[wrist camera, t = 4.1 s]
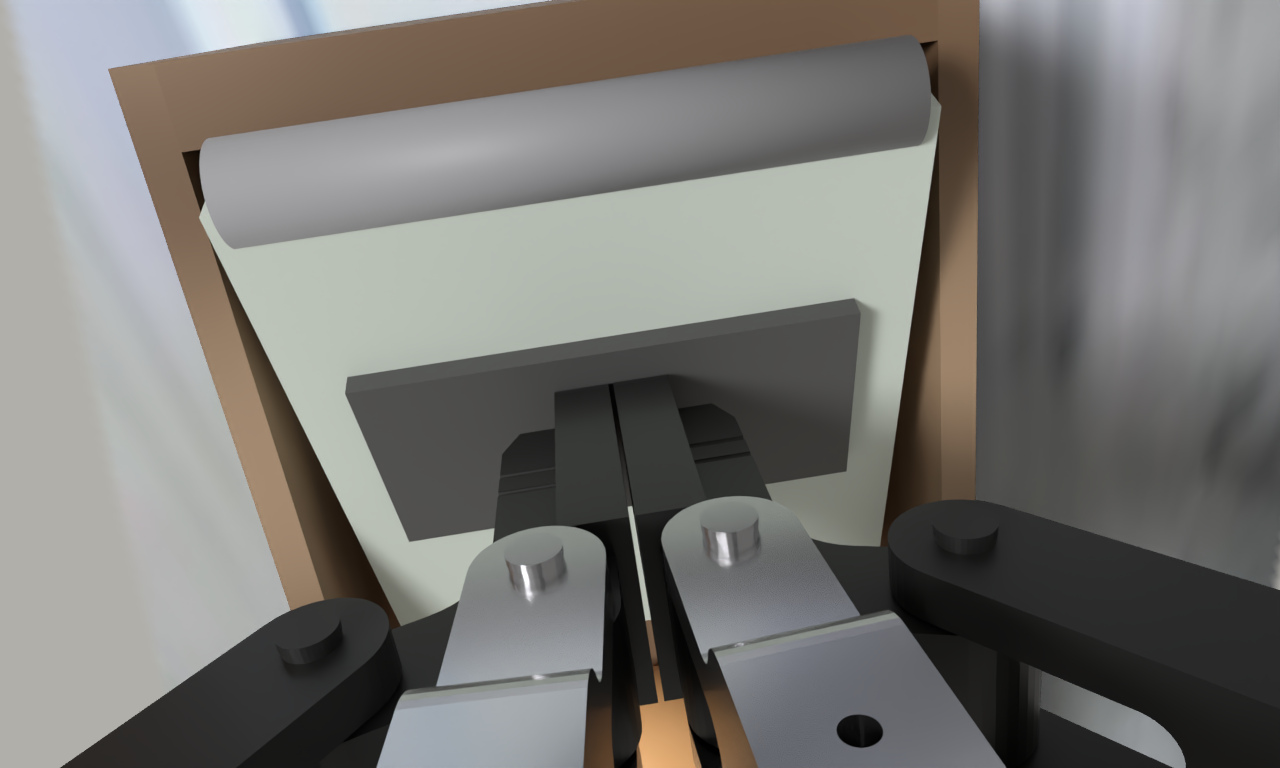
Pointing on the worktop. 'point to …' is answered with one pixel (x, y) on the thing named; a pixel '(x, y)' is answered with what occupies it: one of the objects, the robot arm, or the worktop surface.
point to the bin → (510, 63)
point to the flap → (588, 282)
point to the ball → (665, 732)
